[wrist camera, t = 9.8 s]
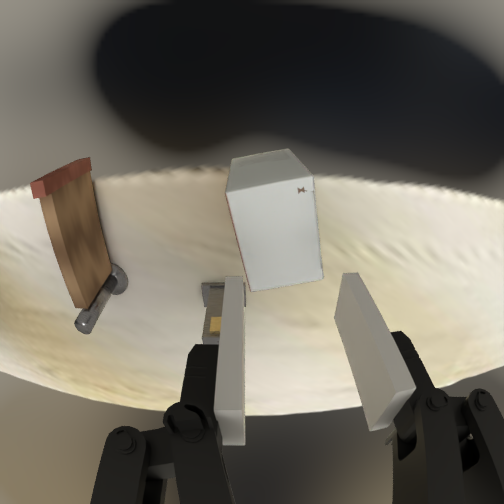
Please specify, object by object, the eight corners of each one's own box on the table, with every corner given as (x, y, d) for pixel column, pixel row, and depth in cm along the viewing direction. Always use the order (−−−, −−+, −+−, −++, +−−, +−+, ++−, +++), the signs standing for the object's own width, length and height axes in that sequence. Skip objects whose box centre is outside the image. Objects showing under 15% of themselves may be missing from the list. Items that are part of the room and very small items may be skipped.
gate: (113, 268, 31) (84, 313, 24) (99, 268, 31) (69, 312, 24) (89, 157, 25) (42, 180, 18) (74, 160, 25) (26, 183, 17)
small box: (231, 157, 26) (222, 189, 17) (289, 147, 26) (314, 172, 16) (248, 232, 30) (248, 295, 21) (301, 223, 29) (324, 281, 20)
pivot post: (102, 291, 33) (74, 340, 26) (92, 263, 31) (58, 309, 23) (131, 292, 33) (106, 344, 26) (123, 262, 31) (92, 312, 23)
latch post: (204, 304, 34) (196, 357, 27) (201, 282, 33) (190, 334, 25) (245, 304, 34) (246, 357, 27) (245, 281, 33) (245, 334, 25)
